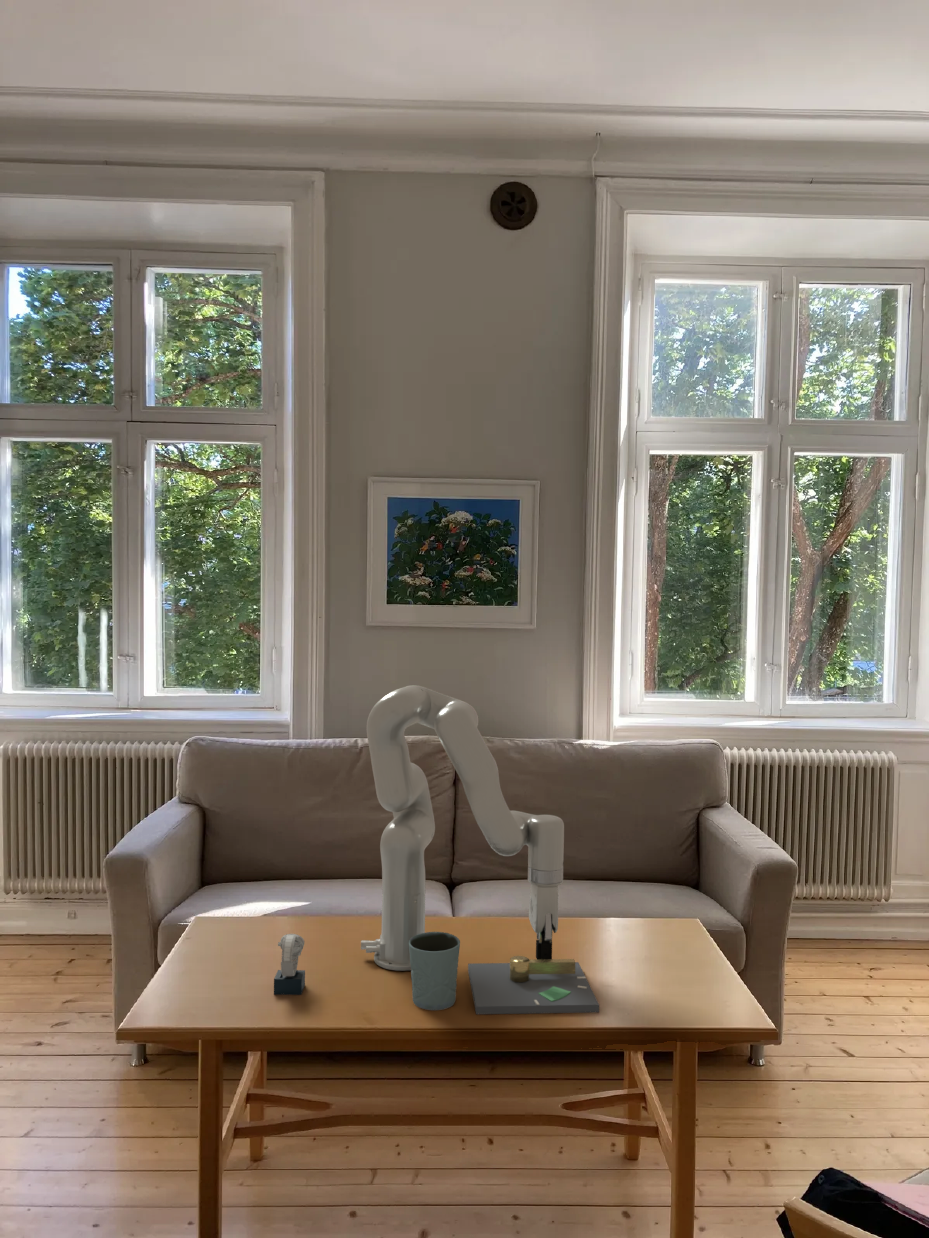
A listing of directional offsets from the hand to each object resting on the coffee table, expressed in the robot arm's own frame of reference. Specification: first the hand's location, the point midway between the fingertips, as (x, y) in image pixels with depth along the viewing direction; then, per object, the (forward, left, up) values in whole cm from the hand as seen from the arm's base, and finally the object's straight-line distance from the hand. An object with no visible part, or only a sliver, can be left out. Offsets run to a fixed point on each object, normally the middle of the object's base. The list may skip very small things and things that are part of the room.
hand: (543, 959), depth 188 cm
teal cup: (-24, -12, -3) cm, 27 cm away
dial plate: (-4, -8, -3) cm, 9 cm away
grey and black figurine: (-53, -6, -3) cm, 53 cm away
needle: (-1, -6, -1) cm, 6 cm away
